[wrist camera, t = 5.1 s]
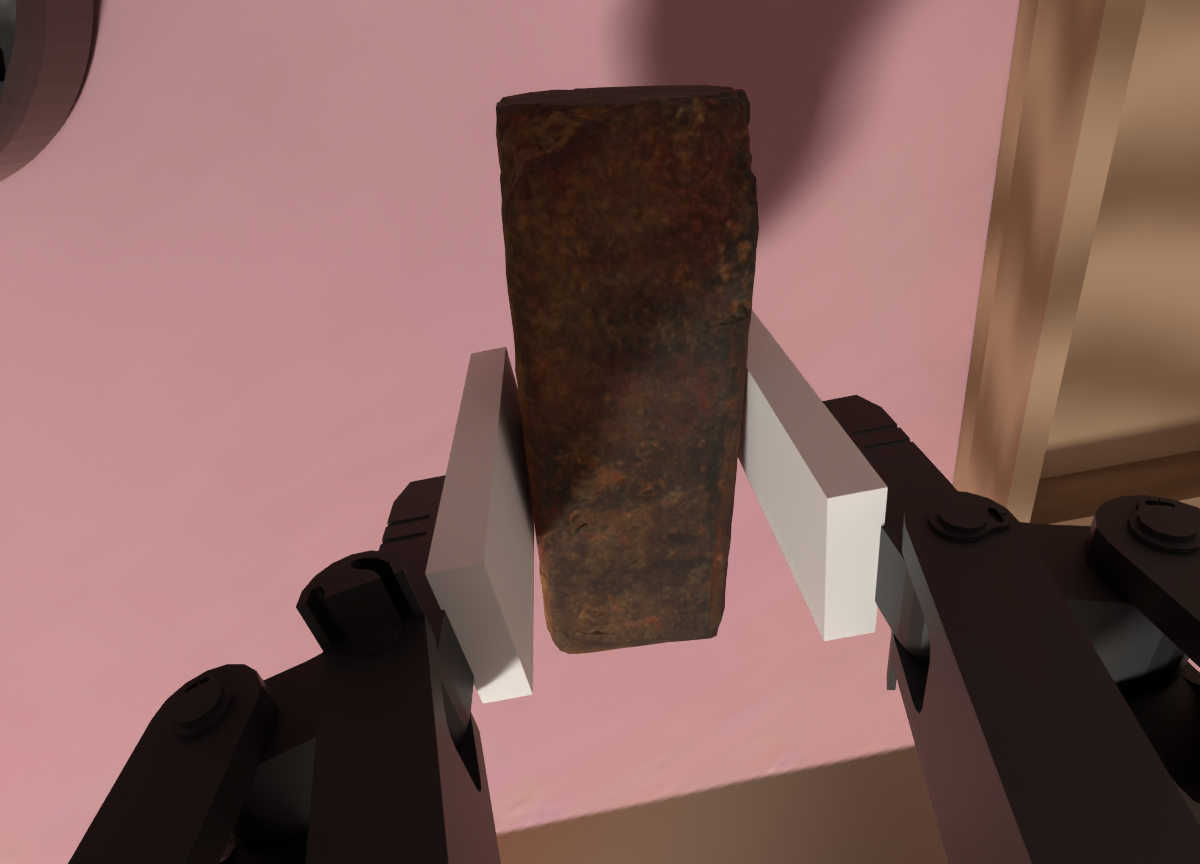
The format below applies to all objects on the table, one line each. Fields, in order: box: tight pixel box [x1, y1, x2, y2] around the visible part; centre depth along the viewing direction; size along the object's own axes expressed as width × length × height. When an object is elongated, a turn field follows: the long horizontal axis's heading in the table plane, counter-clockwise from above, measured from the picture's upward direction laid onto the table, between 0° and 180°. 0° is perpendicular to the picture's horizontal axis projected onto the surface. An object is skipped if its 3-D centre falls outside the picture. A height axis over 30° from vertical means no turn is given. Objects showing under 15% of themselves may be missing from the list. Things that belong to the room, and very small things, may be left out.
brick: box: [496, 85, 759, 654], centre depth 13 cm, size 11×4×5 cm, turn 2°
